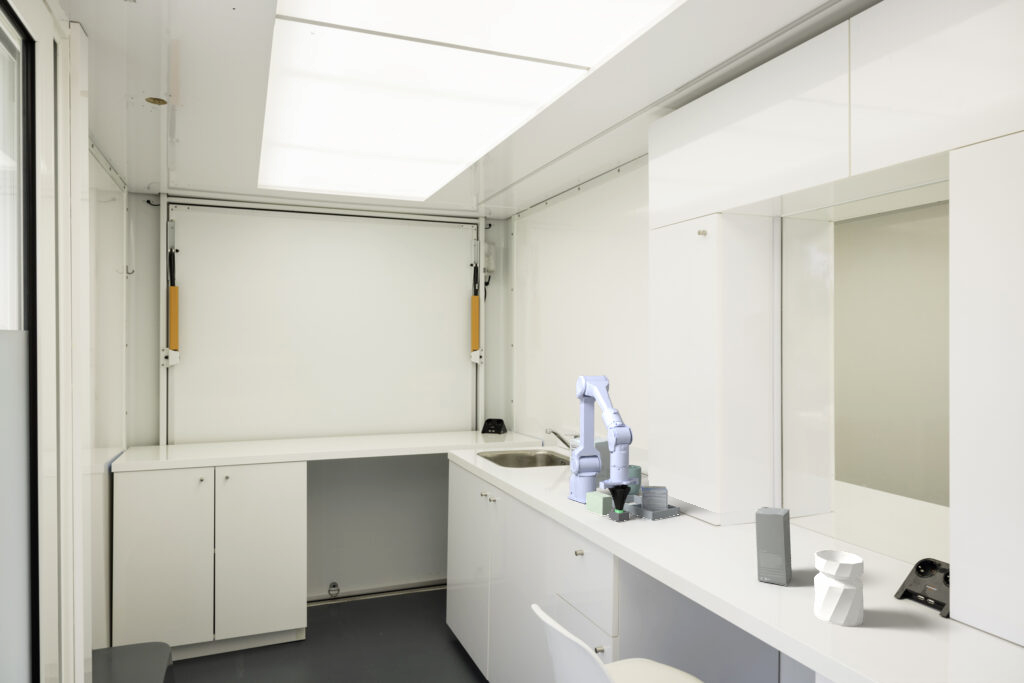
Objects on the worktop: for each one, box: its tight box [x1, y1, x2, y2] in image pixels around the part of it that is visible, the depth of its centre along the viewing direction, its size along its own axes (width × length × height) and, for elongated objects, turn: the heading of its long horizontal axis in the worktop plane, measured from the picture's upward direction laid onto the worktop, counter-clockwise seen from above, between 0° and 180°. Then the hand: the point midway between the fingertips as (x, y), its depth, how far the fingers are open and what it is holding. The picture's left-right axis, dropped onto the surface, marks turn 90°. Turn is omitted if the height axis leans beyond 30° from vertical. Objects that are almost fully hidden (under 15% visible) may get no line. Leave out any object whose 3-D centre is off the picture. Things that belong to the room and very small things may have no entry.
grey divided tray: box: [612, 494, 680, 521], centre depth 208 cm, size 21×12×2 cm, turn 33°
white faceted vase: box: [813, 549, 865, 627], centre depth 126 cm, size 9×9×12 cm
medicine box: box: [640, 485, 669, 512], centre depth 204 cm, size 8×4×9 cm, turn 84°
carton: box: [585, 490, 613, 515], centre depth 205 cm, size 8×4×6 cm, turn 33°
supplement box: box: [569, 436, 610, 489], centre depth 249 cm, size 13×13×18 cm
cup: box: [628, 464, 642, 496], centre depth 231 cm, size 8×8×10 cm
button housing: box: [608, 509, 630, 522], centre depth 197 cm, size 4×4×2 cm
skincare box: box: [754, 506, 793, 587], centre depth 147 cm, size 8×7×16 cm
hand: (619, 509), depth 197 cm, fingers closed, pressing on start button
